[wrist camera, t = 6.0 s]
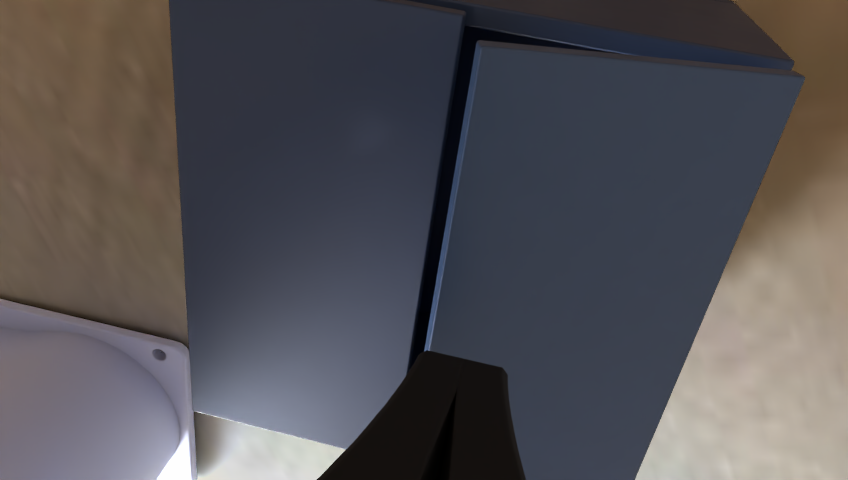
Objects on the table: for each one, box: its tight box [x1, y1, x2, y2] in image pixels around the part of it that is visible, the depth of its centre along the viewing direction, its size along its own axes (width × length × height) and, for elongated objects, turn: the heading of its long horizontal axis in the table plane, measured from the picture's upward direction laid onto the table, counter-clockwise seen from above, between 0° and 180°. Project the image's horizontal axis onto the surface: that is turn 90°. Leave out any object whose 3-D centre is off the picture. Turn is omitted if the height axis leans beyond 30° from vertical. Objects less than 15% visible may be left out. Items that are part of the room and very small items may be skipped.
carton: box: [169, 0, 794, 449], centre depth 17 cm, size 11×11×6 cm
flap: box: [424, 40, 805, 480], centre depth 13 cm, size 5×11×1 cm, turn 172°
